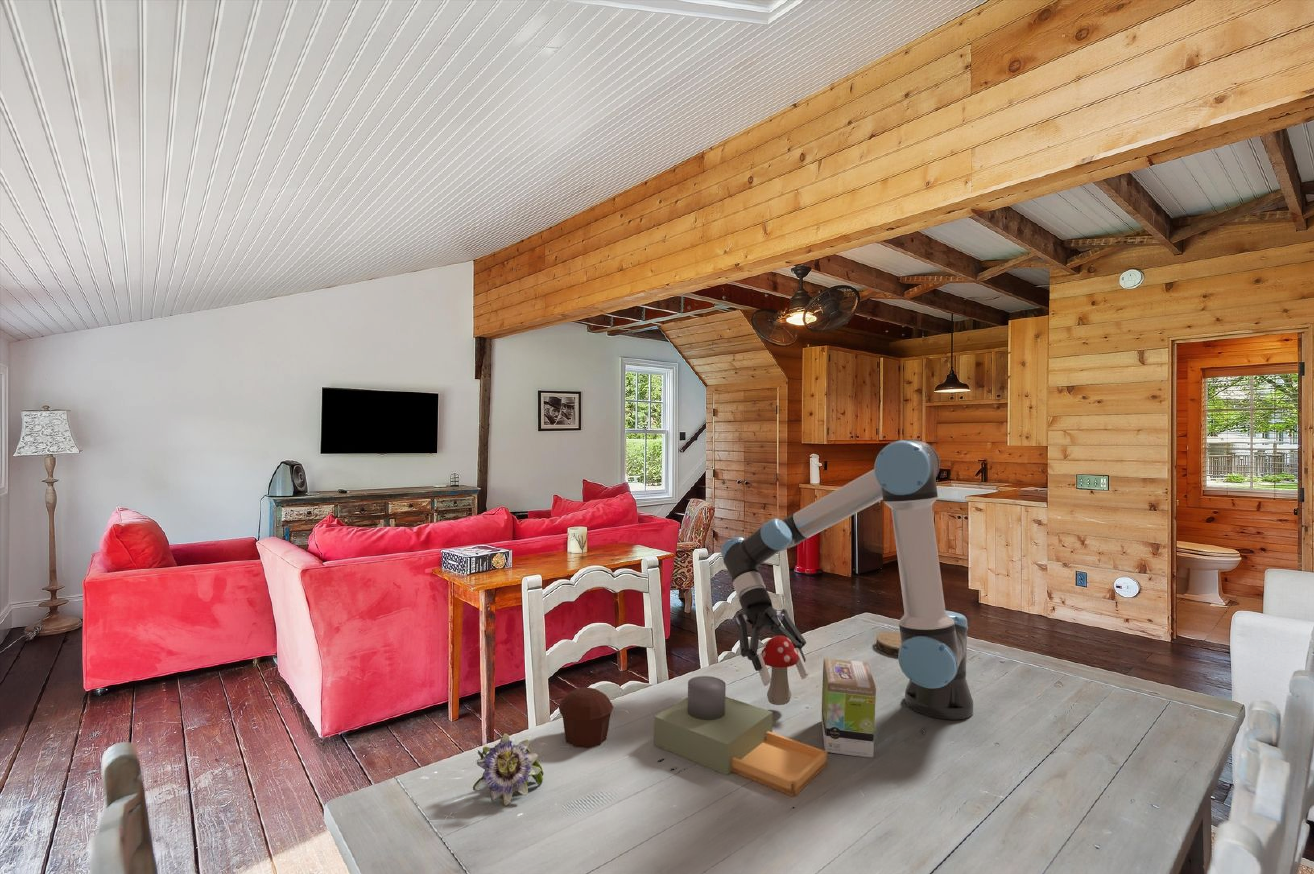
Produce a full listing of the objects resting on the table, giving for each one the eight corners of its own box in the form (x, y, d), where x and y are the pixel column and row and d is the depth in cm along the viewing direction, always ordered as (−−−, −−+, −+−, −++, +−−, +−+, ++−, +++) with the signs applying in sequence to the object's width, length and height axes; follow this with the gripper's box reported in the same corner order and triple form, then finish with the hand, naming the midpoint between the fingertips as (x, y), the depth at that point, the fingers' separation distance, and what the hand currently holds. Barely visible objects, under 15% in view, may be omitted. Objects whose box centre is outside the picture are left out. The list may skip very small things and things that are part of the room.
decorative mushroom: (771, 688, 157) (772, 627, 157) (804, 697, 152) (805, 634, 152) (752, 702, 149) (753, 638, 149) (787, 712, 144) (788, 645, 144)
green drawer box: (830, 760, 129) (832, 701, 129) (790, 801, 115) (791, 735, 114) (702, 714, 148) (703, 663, 148) (653, 744, 134) (654, 687, 134)
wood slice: (881, 657, 188) (881, 647, 188) (872, 639, 203) (872, 630, 203) (938, 661, 185) (938, 651, 185) (925, 643, 201) (925, 633, 201)
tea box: (875, 759, 130) (877, 687, 129) (824, 753, 132) (825, 682, 131) (866, 725, 145) (868, 660, 144) (820, 720, 147) (822, 656, 146)
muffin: (622, 732, 139) (623, 686, 139) (596, 756, 129) (597, 707, 129) (575, 720, 144) (576, 676, 144) (547, 742, 134) (548, 695, 134)
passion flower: (506, 833, 113) (469, 794, 108) (493, 790, 122) (458, 752, 118) (560, 788, 116) (526, 748, 111) (543, 750, 125) (511, 711, 120)
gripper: (784, 597, 168) (819, 680, 154) (708, 606, 160) (738, 693, 146) (795, 582, 163) (834, 665, 149) (718, 590, 155) (750, 679, 141)
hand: (786, 679), depth 147 cm, fingers closed on decorative mushroom, 9 cm apart
